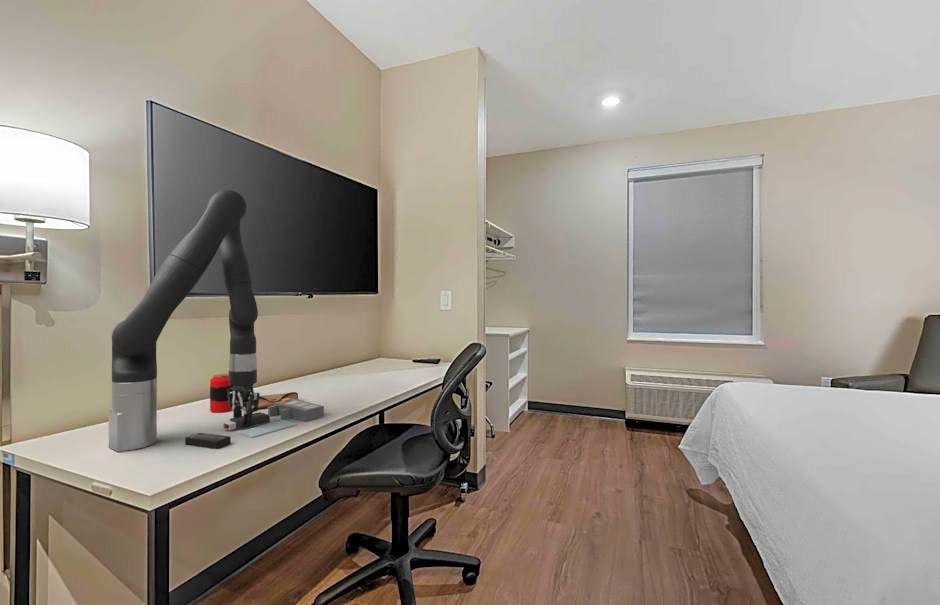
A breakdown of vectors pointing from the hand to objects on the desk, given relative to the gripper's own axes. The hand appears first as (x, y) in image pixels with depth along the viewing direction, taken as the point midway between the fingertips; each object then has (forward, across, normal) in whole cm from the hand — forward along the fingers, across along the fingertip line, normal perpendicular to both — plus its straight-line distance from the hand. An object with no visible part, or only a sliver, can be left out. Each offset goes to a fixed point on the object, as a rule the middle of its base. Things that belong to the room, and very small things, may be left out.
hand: (242, 424), depth 125 cm
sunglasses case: (+1, -14, +19) cm, 24 cm away
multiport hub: (+1, +7, -13) cm, 15 cm away
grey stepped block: (+1, +3, +15) cm, 16 cm away
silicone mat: (+1, +9, +3) cm, 9 cm away
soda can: (+1, -23, +6) cm, 24 cm away
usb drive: (+1, 0, +1) cm, 2 cm away
